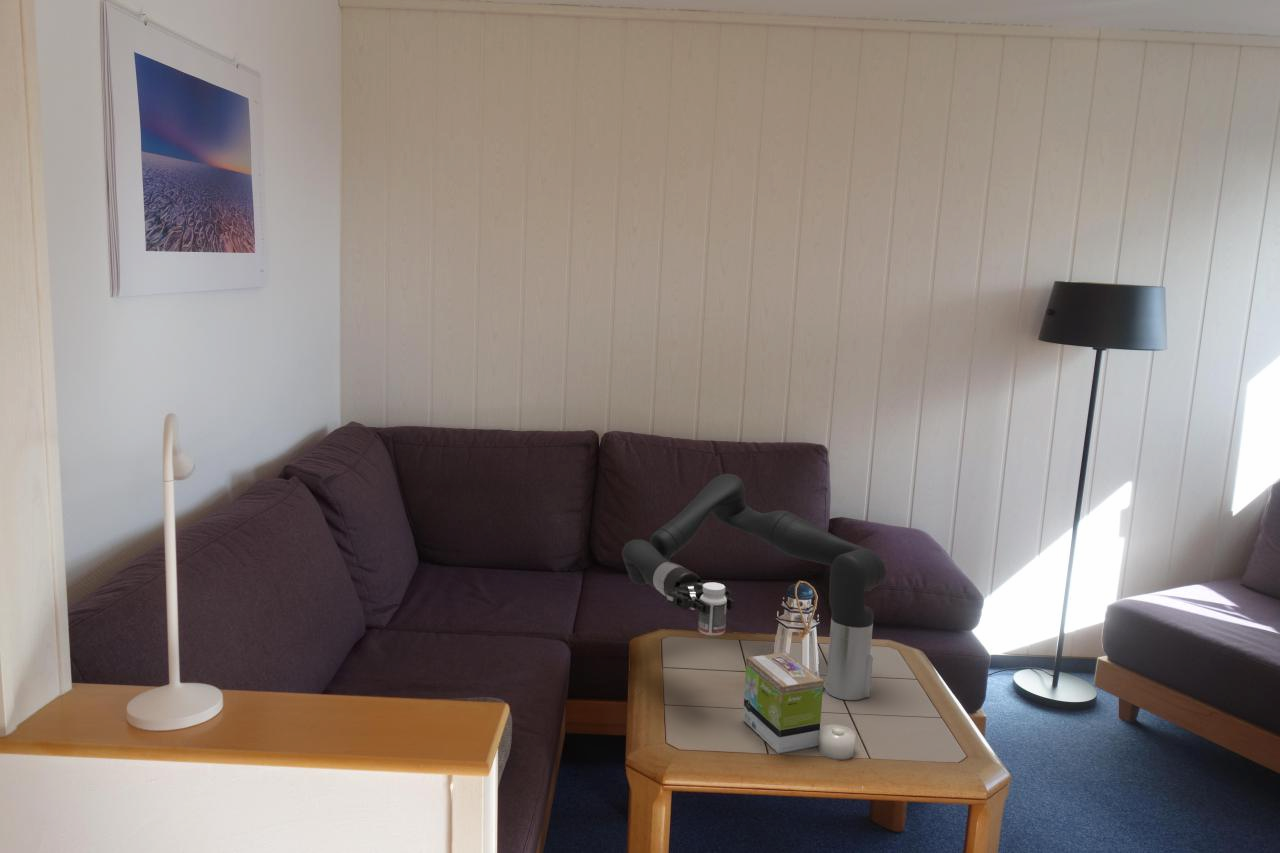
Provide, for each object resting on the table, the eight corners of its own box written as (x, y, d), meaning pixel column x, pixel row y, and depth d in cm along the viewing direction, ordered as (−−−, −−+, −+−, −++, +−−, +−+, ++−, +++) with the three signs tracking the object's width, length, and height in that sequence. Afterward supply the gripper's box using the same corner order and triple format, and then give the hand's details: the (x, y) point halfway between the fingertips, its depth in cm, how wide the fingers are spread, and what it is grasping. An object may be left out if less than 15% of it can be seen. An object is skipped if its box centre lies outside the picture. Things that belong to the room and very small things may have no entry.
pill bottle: (725, 627, 211) (728, 582, 209) (724, 637, 205) (727, 591, 203) (698, 625, 211) (701, 580, 209) (697, 635, 206) (700, 589, 204)
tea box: (740, 721, 210) (745, 655, 207) (781, 714, 214) (786, 649, 211) (777, 755, 196) (782, 684, 193) (820, 747, 200) (826, 678, 197)
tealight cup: (848, 742, 203) (850, 720, 202) (858, 759, 196) (860, 737, 195) (814, 742, 202) (816, 720, 201) (823, 760, 195) (825, 737, 194)
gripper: (702, 594, 223) (747, 620, 209) (648, 603, 216) (689, 630, 202) (704, 563, 222) (749, 586, 208) (649, 570, 215) (691, 594, 201)
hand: (719, 607), depth 205 cm, fingers closed on pill bottle, 5 cm apart
